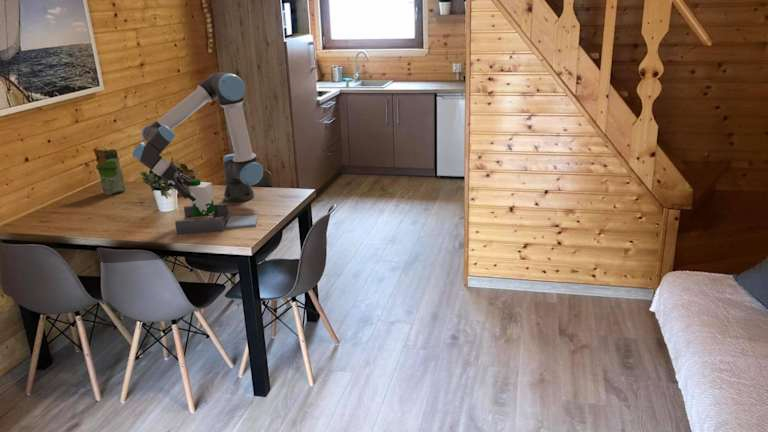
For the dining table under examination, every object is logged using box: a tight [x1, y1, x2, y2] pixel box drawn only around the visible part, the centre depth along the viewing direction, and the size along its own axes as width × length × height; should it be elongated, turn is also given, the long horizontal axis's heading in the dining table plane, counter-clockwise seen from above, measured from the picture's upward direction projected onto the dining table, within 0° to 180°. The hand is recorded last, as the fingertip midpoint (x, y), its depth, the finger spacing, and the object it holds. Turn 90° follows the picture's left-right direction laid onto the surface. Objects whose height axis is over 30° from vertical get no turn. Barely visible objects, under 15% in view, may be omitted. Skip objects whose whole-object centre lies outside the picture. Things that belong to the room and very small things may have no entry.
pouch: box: [92, 148, 126, 195], centre depth 340 cm, size 11×12×25 cm
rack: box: [174, 202, 230, 236], centre depth 288 cm, size 22×20×6 cm
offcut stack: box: [185, 215, 214, 220], centre depth 284 cm, size 6×16×5 cm, turn 96°
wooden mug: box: [170, 157, 197, 192], centre depth 340 cm, size 9×14×18 cm, turn 78°
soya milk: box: [189, 178, 216, 218], centre depth 290 cm, size 9×9×20 cm
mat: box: [225, 214, 259, 229], centre depth 290 cm, size 13×13×1 cm
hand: (203, 199), depth 289 cm, fingers open, 13 cm apart
